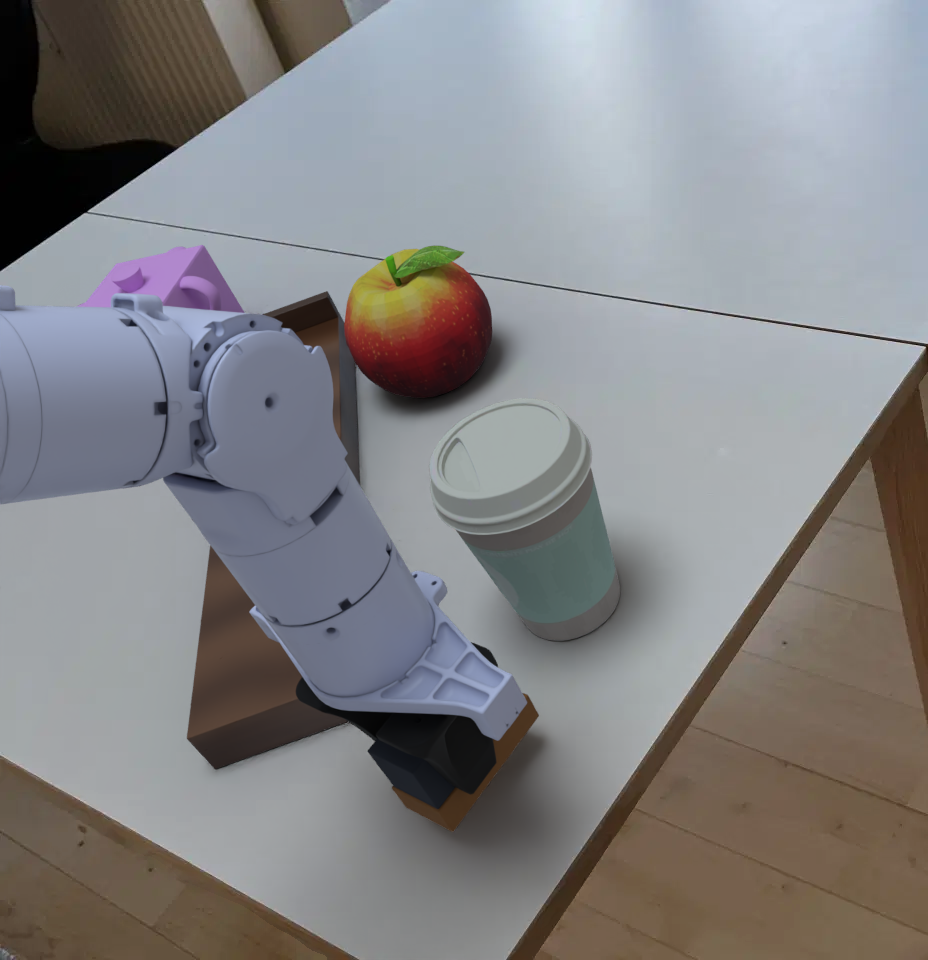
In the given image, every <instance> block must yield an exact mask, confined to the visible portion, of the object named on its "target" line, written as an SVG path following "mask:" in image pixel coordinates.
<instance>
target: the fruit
mask: <svg viewBox="0 0 928 960" xmlns="http://www.w3.org/2000/svg"><path fill="white" fill-rule="evenodd" d="M464 253H465V251H463V250H458V249H455V248H451V247H448V246H445V245H427V246H424V247H422V248H420V249H419V248H406V249H402V250H399V251H397V252H394V253H392V254H390V255H388V256H386V257H385V258H384V259H383V260H382V261H380V262H378V263H377V264H376V265H374V266H373V267H372V268H370V269H369V270H367V271H366V272H365V273H363V274H362V275H361V276H360V277H358V278H357V280H356V281H355V282H354V283H353V285H352V287H351V289H350V292H349V294H348V297H347V301H346V308H345V316H344V330H345V338H346V343H347V346H348V348H349V350H350V353H351V355H352V357H353V359H354V361H355V366H357V367H358V369H359V370H360V372H361V373H362V374H363V376H364V377H366V378H367V379H368V380H369V381H370V382H372V383H373V384H375V385H377V386H378V387H379V388H381V389H383V390H385V391H386V392H388V393H391V394H393V395H395V396H396V395H397V396H401V397H406V398H412V399H425V398H434V397H437V396H441V395H444V394H447V393H450V392H452V391H453V390H456V389H458V388H459V387H461V386H462V385H464V384H465V383H466V382H468V381H469V380H470V379H471V378H472V377H473V376H474V374H475V373H476V372H477V371H478V370H479V369H480V367H481V366H482V365H483V363H484V361H485V359H486V356H487V354H488V352H489V349H490V347H491V343H492V339H493V316H492V309H491V306H490V305H491V304H490V302H489V299H488V297H487V296H486V294H485V292H484V290H483V289H482V288H481V286H480V285H479V284H478V283H477V281H476V279H474V277H473V276H472V275H471V274H470V272H468V271H467V270H466V269H465V268H464V267H462V266H461V265H459V264H457V263H456V262H454V261H456V260H458V259H459V258H461V257H462V256H463V255H464Z"/></svg>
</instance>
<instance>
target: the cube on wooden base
mask: <svg viewBox="0 0 928 960" xmlns="http://www.w3.org/2000/svg"><path fill="white" fill-rule="evenodd" d="M522 693H523V695H524V697H525V699H526V701H527V704H526V706H525V707H524V708H523V710H522V711H521V712H520V714H519V716H518V717H517V718H516V720H515V721H514V722H513V724H512V725H511V726H510V728H508V730H507V731H506V732H505V733H504V735H503V736H502V737H501V739H500V740H498V741H497V740H495V739H493V743H494V749H495V754H496V762H497V763H496V764H495V766H494V767H493V768H492V770H491V771H490V772H489V774H488V775H487V776H486V778H485V779H484V780H483V782H482V783H481V784H480V786H479V787H478V788H477V790H476V791H475V792H474V794H471V795H470V794H468V793H466V792H464V791H462V790H460V789H458V788H456V787H454V786H453V785H451V784H450V783H449V782H448V781H446V780H445V779H444V778H443V777H442V776H441V775H440V774H439V773H438V772H437V771H436V770H435V769H434V768H433V767H432V766H431V765H430V764H429V763H428V762H427V761H426V760H424V759H422V758H419V757H416V756H413V755H410V754H407V753H405V752H403V751H401V750H399V749H397V748H395V747H393V746H391V745H389V744H386V743H384V742H382V741H380V740H379V739H377V740H376V741H374V742H373V743H372V744H371V745H370V747H369V748H368V749H367V753H368V754H369V755H370V757H371V759H372V760H373V761H374V762H375V764H376V765H377V766H378V768H379V769H380V770H381V772H382V773H383V774H384V776H385V777H386V778H387V780H388V781H389V782H390V784H391V785H392V786H391V790H392V791H393V792H394V794H395V795H396V796H397V797H398V799H399V800H400V801H401V803H402V804H403V806H404V807H405V808H406V809H407V810H410V811H412V813H413V812H414V813H415V814H417V815H419V816H420V817H422V818H425V819H426V820H428V821H430V822H432V823H434V824H436V825H438V826H440V827H441V828H444V829H446V830H448V831H449V832H451V833H453V832H455V830H456V829H457V827H459V825H460V824H461V823H462V821H463V820H464V818H465V817H466V816H467V814H468V813H469V812H470V810H471V809H472V807H474V805H475V803H476V802H477V801H478V800H479V798H480V797H481V795H482V794H483V793H484V792H485V790H486V789H487V787H488V786H489V784H490V783H491V782H492V781H493V779H494V778H495V776H496V775H497V774H498V772H499V771H500V770H501V768H502V767H503V766H504V764H505V763H506V762H507V760H508V759H509V757H510V756H511V755H512V754H513V753H514V751H515V750H516V748H517V747H518V745H519V744H520V743H521V741H522V740H523V738H524V737H525V736H526V734H527V733H528V732H529V730H530V729H531V728H532V726H533V725H534V724H535V722H536V721H537V719H539V717H540V714H539V713H538V711H537V709H536V707H535V705H534V703H533V701H532V700H531V698H530V696H529V695H528V694H527V693H524V692H522Z"/></svg>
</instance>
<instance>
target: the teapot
mask: <svg viewBox="0 0 928 960" xmlns="http://www.w3.org/2000/svg"><path fill="white" fill-rule="evenodd" d="M115 293H128V294H146V295H156V296H158V297H159V298H160V299H161V300H162V303H163V306H172V307H183V308H192V309H204V310H215V311H227V312H238V313H246V312H245V311H244V309H243V307H242V305H241V304H240V302H239V301H238V299H237V297H236V296H235V294H234V293H233V291H232V289H231V288H230V286H229V284H228V283H227V281H226V279H225V277H224V276H223V275H222V273H221V271H220V269H219V268H218V266H217V264H216V262H215V261H214V259H213V258H212V256H211V254H210V253H209V251H208V249H207V247H206V246H205V245H203V244H200V245H199V244H198V245H195V246H191V247H186V246H176V247H173V248H170V249H169V250H168V251H166V252H163V253H158V254H153V255H149V256H144V257H140V258H135V259H132V260H127V261H121V262H117V263H115V265H114V266H113V267H112V268H111V270H110V271H109V272H108V273H107V274H106V275H105V277H104V278H103V280H102V281H100V283H99V285H98V286H97V287H96V288H95V290H94V291H93V292H92V294H91V295H90V296H89V298H88V299H86V301H85V302H82V303H80V304H79V305H77V306H75V307H111V298H112V296H113V295H114V294H115Z"/></svg>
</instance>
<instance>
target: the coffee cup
mask: <svg viewBox="0 0 928 960" xmlns="http://www.w3.org/2000/svg"><path fill="white" fill-rule="evenodd" d="M592 463H593V448H592V445H591V442H590V439H589V438H588V436H587V434H585V432H584V430H583V429H582V428H581V426H580V425H579V424H578V423H577V422H576V421H575V420H574V419H573V418H570V417H569V415H568V414H567V413H566V412H565V411H564V410H563V409H562V408H561V407H559V406H558V405H556V404H555V403H552V402H551V401H547V400H544V399H540V398H530V397H529V398H528V397H527V398H525V397H524V398H523V397H522V398H513V399H512V398H511V399H507V400H503V401H499V402H495V403H492V404H490V405H487V406H485V407H482V408H480V409H478V410H476V411H473V412H472V413H470V414H469V415H467V416H466V417H464V418H463V419H462V420H460V421H458V422H457V423H456V424H454V425H453V426H452V427H451V428H450V429H449V430H448V431H446V433H444V435H443V436H442V438H441V439H440V440H439V441H438V443H437V444H436V446H435V447H434V450H433V451H432V453H431V457H430V460H429V465H428V467H429V468H428V472H429V477H430V482H429V493H430V498H431V501H432V506H433V509H434V511H435V513H436V516H437V517H438V518H439V519H440V520H441V522H443V523H444V524H445V525H446V526H448V527H449V528H451V529H453V530H455V531H456V533H457V534H458V535H459V537H460V539H461V540H462V541H463V542H464V544H465V545H466V547H467V548H468V549H469V551H470V553H472V555H473V556H474V557H475V559H476V560H477V561H478V562H479V564H480V566H481V567H482V568H483V570H484V571H485V573H486V574H487V575H488V576H489V578H490V579H491V580H492V582H493V583H494V584H495V586H496V587H497V588H498V591H500V592H501V594H502V595H503V597H504V598H505V599H506V601H507V603H509V605H510V606H511V607H512V609H513V610H514V612H515V613H516V614H517V616H518V617H519V618H520V619H521V621H522V622H523V623H524V625H525V626H526V627H527V628H528V630H529V631H530V632H531V633H533V635H535V636H537V637H538V638H541V639H544V640H548V641H556V642H558V641H559V642H561V641H570V640H574V639H578V638H580V637H581V638H582V637H583V636H586V635H587V634H589V633H592V632H593V631H595V630H597V629H598V628H600V626H602V625H603V624H604V623H605V622H606V621H607V620H608V619H609V618H610V617H611V616H612V614H613V613H614V612H615V610H616V608H617V606H618V604H619V601H620V597H621V584H620V580H619V576H618V572H617V568H616V563H615V560H614V556H613V555H614V554H613V550H612V546H611V542H610V540H609V535H608V531H607V527H606V523H605V519H604V515H603V510H602V507H601V502H600V499H599V495H598V491H597V485H596V482H595V478H594V474H593V470H592V467H591V466H592Z"/></svg>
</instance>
